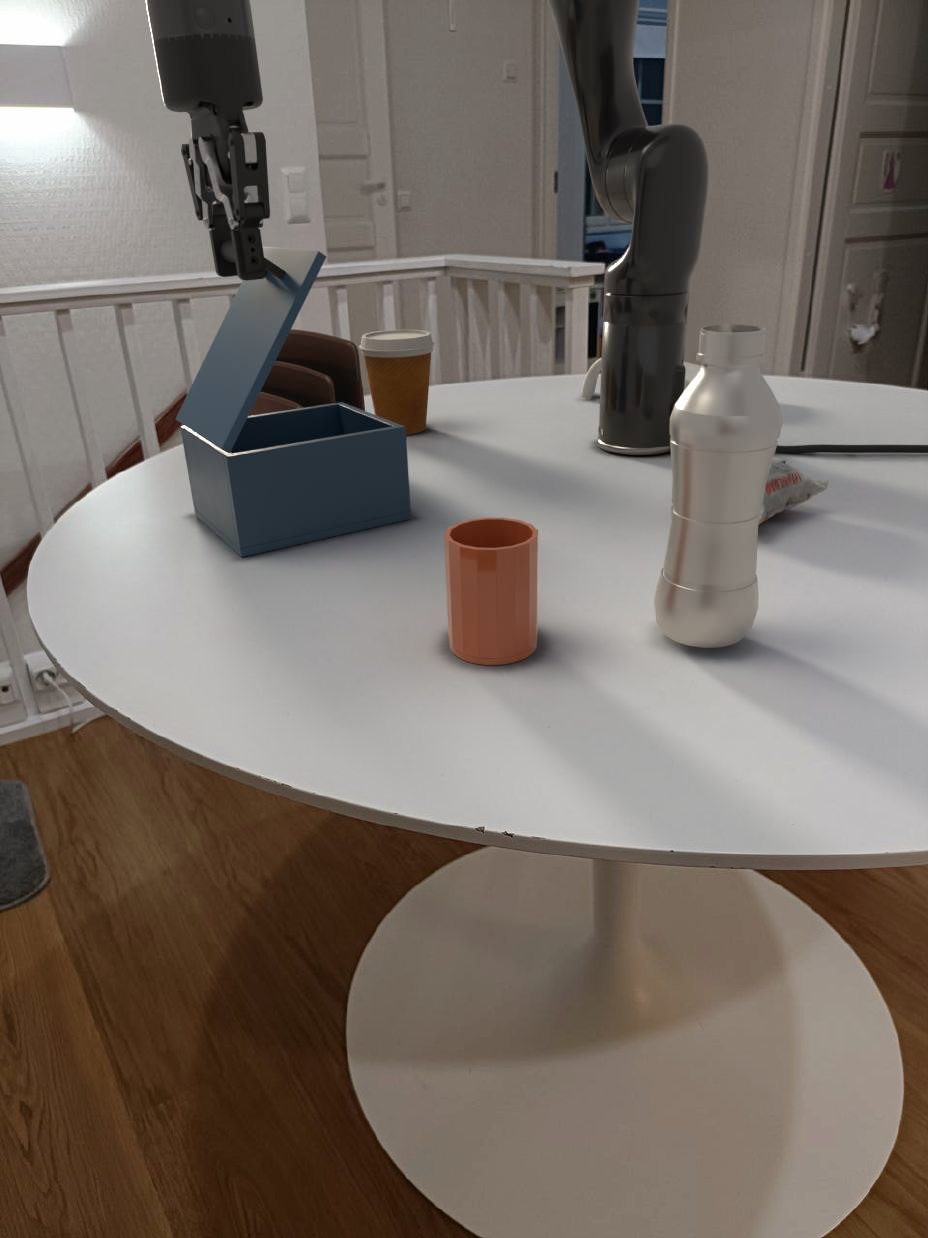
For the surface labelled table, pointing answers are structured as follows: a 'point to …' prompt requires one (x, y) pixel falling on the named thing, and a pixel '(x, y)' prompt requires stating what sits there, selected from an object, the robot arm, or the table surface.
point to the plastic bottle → (718, 490)
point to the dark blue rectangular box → (300, 477)
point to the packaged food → (787, 489)
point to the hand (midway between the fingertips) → (240, 276)
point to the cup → (492, 590)
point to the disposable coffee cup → (399, 375)
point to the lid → (248, 344)
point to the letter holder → (312, 374)
